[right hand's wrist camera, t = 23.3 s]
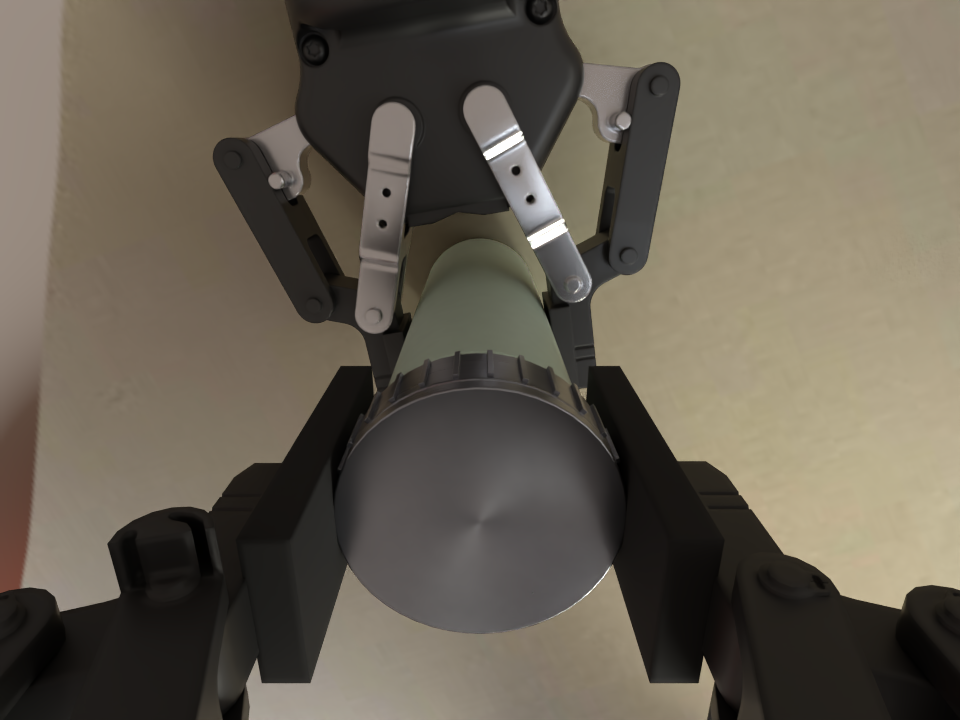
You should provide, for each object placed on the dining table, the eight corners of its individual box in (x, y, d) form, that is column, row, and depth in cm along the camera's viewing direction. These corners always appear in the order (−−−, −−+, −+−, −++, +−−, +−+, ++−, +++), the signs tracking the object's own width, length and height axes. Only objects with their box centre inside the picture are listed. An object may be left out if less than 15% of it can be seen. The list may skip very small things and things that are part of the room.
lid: (300, 495, 12) (273, 549, 11) (447, 293, 11) (441, 320, 9) (506, 613, 14) (509, 677, 12) (666, 445, 12) (695, 493, 10)
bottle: (414, 324, 27) (333, 554, 12) (444, 223, 25) (394, 346, 10) (512, 355, 27) (550, 610, 13) (549, 257, 26) (641, 421, 11)
